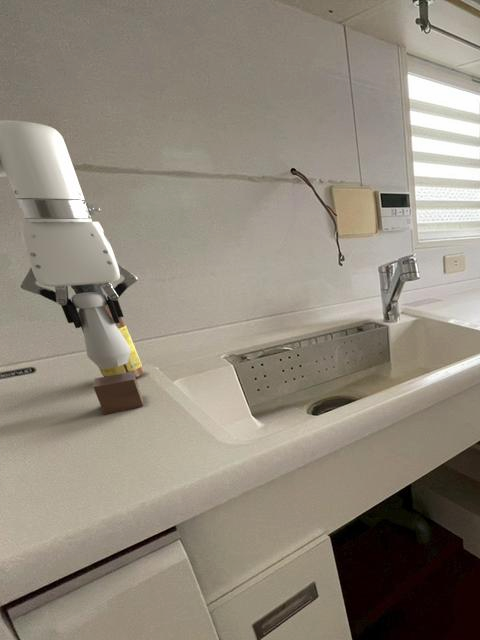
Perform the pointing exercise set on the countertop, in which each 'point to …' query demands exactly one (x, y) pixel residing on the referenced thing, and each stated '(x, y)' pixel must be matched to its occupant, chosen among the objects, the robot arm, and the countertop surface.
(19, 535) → the countertop surface
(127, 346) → the salt shaker
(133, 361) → the sauce bottle
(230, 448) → the countertop surface
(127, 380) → the walnut block
